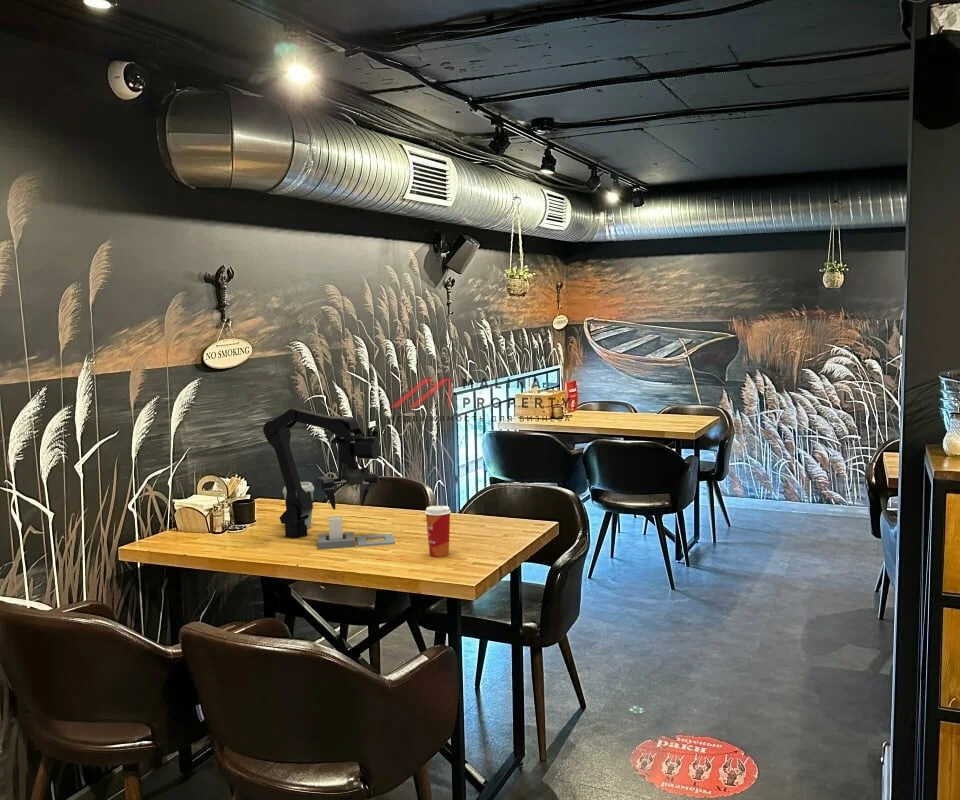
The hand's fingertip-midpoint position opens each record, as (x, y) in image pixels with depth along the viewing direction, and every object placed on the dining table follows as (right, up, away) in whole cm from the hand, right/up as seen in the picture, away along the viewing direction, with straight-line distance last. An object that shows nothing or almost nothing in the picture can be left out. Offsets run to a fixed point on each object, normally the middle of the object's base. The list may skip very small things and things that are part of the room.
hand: (348, 507), depth 261 cm
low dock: (+9, -12, -1) cm, 15 cm away
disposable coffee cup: (-20, -10, +26) cm, 34 cm away
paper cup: (+29, -12, -14) cm, 34 cm away
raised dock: (-3, -12, -4) cm, 13 cm away
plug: (-3, -11, -4) cm, 12 cm away
